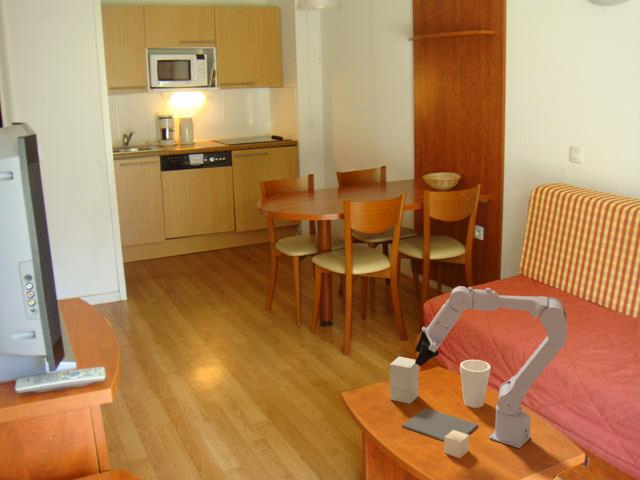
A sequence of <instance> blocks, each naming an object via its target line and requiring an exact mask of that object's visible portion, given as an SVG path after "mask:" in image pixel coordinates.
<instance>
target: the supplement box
mask: <svg viewBox="0 0 640 480" xmlns="http://www.w3.org/2000/svg"><path fill="white" fill-rule="evenodd" d="M415 361H416V359H414V358H410V357H409V358H408V357H403V356H398V357H396V358H395V359H394V360H393V361H392V362H391V363H390V364H389V400H391V401H394V402H395V401H396V402H399V403H405V404H409V405H411V403H413V402H414V401H415V400H416V399H417V397H419V381H420V379H419V374H420V373H419V371H420V369H419V365H417V364H415Z"/></svg>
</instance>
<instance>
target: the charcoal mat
mask: <svg viewBox="0 0 640 480" xmlns="http://www.w3.org/2000/svg"><path fill="white" fill-rule="evenodd" d="M478 426H479V425H478V423H475V422H472V421H468V420H466V419H463V418H459V417H457V416H453V415H450V414H446V413H443V412H440V411H437V410H434V409H432V408H427V407H426V408H424V409H422V410H421V411H419V412H418V413H416V414H415V415H414V416H411V418H410V419H408V420H406V421H405V422H404V423H402V424H401V427H402V428H405V429H407V430H410V431H413V432H416V433H418V434H419V433H420V434H422V435H425V436H427V437H430V438H433V439H436V440H439V441H442V442H444V437H445V436H446V435H447V434H449V433H450V432H451V431H452V430H455V431H458V432H461V433H464V434H467V435H470V434H471V433H472V432H473V431H474V430H476V429H477V427H478Z"/></svg>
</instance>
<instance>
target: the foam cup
mask: <svg viewBox="0 0 640 480" xmlns="http://www.w3.org/2000/svg"><path fill="white" fill-rule="evenodd" d="M459 373H460V380H461V391H462V398H463V404H464V405H465V406H467V407H468V408H473V409H474V408H475V409H477V408H481V407H483V406H484V405H485V399H486V394H487V391H488V390H487V389H488V382H489V378H490V375H491V364H490V363H488V362H487V361H484V360H480V359H467V360H464V361H462V362H460V364H459Z"/></svg>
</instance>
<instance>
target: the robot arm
mask: <svg viewBox="0 0 640 480" xmlns="http://www.w3.org/2000/svg"><path fill="white" fill-rule="evenodd" d="M498 308H501V309H509V310H510V309H511V310H517V311H518V310H519V311H525V312H528V313H529V314H530V315H531V316H533V318H534V319H536V320H538V318H539V317H540V318H539V319H540V323H541V324H542V326H543V327H544V329H545V330H546V334H547V336H546V337H545V338H544V340H543V341H542V342H541V343H540V344H539V346H538V347H537V348H536V349H535V350H534V352H533V353H532V354H531V355H530V356H529V358H528V359H527V361H526V362H525V363H524V364H523V366H522V367H521V368H520V369H519V370H518V372H517V373H516V374H515V375H513V376H512V377H510V379H509V380H507V381H505V382H503V383H501V385H500V386H499V387H498V400H497V403H496V406H495V421H494V422H495V425H494V427H495V428H494V432H493V433H491V435H489V439H491V440H493V441H496V442H499V443H502V444H505V445H509V446H512V447H514V448H516V449H517V448H518V449H520V448H521V447H523V445H524V444H526V443H527V441H529V440H530V438H531V437H532V436H531V435H530V434H531V421H532V419H531V415H530V414H528V413H527V412H525V411H524V410H523V409H522V406H521V404H522V402H523V400H525V397H526V395H527V393H528V390H529V389H530V388H531V386H532V385H533V384H534V383H535V382H536V381H537V379H538V378H539V376H540V375H541V374H542V373H543V371H544V370H545V369H546V368H547V367H548V366H549V364H551V362H552V361H553V360H554V358H555V357H556V356H557V355H558V353H559V352H560V351H561V350H562V349H563V348H564V346H565V345H566V343H567V341H568V339H567V338H568V336H567V335H568V320H567V312H566V309H565V307H564V303H563V302H562V301H561V300H560V299H559V298H556V297H547V296H543V295H542V296H540V295H539V296H537V295H536V296H532V295H531V296H527V295H526V296H525V295H500V294H499V293H497V291H496V290H492V288H491V287H486V288H485V289H475V288H473V287H471V286H469V287H466V286H464V285H463V286H462V285H459V286H458V285H457V286H456V287H454V288H452V290H451V292H450V295H449V298H448V299H446V301H445V303H444V304H443V305H442V306H441V308H440V309H439V310H438V311H437V313H436V315H435V316H434V318H433V319H432V320H431V322H430V323H429V325H428V326H427V327H426V326H422V328H421V333H420V337H419V340H418V341H417V344H416V347H415V349H414V351H415V352H417V353H418V355H417V357H416V358H415V360H416V361H415V364H417V365H419V366H420V367H422V366H423V365H425V364H426V363H427V362H428V361H430V360H431V359H433V358H435V357H437V356H439V355H440V351H439V350H438V349H439V346H440V345H441V344H442V343H443V342H444V340H445V339H446V337H447V335H448V334H449V333H450V331H451V330H452V328H453V327H454V326H455V324H456V323H457V321H458V320H459V319H460V317H461V315H462V313H463V312H465V311H467V310H469V309H470V310H475V311H477V310H478V311H489V312H494V311H495V310H497V309H498Z"/></svg>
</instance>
